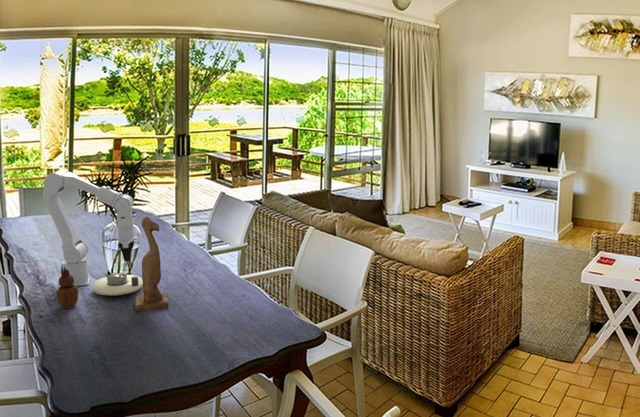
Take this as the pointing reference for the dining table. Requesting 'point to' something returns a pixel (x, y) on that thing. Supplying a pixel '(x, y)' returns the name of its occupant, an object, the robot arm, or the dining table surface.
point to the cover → (116, 279)
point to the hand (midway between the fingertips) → (127, 260)
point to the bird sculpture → (151, 273)
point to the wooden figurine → (67, 290)
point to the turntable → (105, 289)
